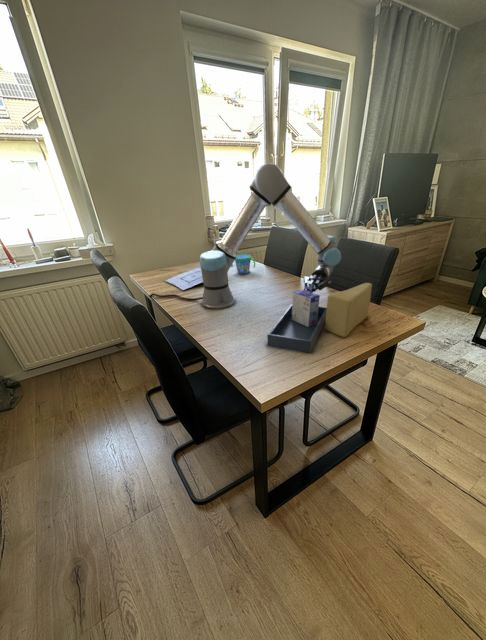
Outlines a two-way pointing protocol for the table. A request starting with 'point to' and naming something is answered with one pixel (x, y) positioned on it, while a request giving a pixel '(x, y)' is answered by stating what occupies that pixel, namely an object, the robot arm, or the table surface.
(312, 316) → the ink cartridge box
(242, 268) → the snack cup
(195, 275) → the papers
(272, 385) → the table surface
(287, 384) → the table surface
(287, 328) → the bin
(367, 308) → the cheese
